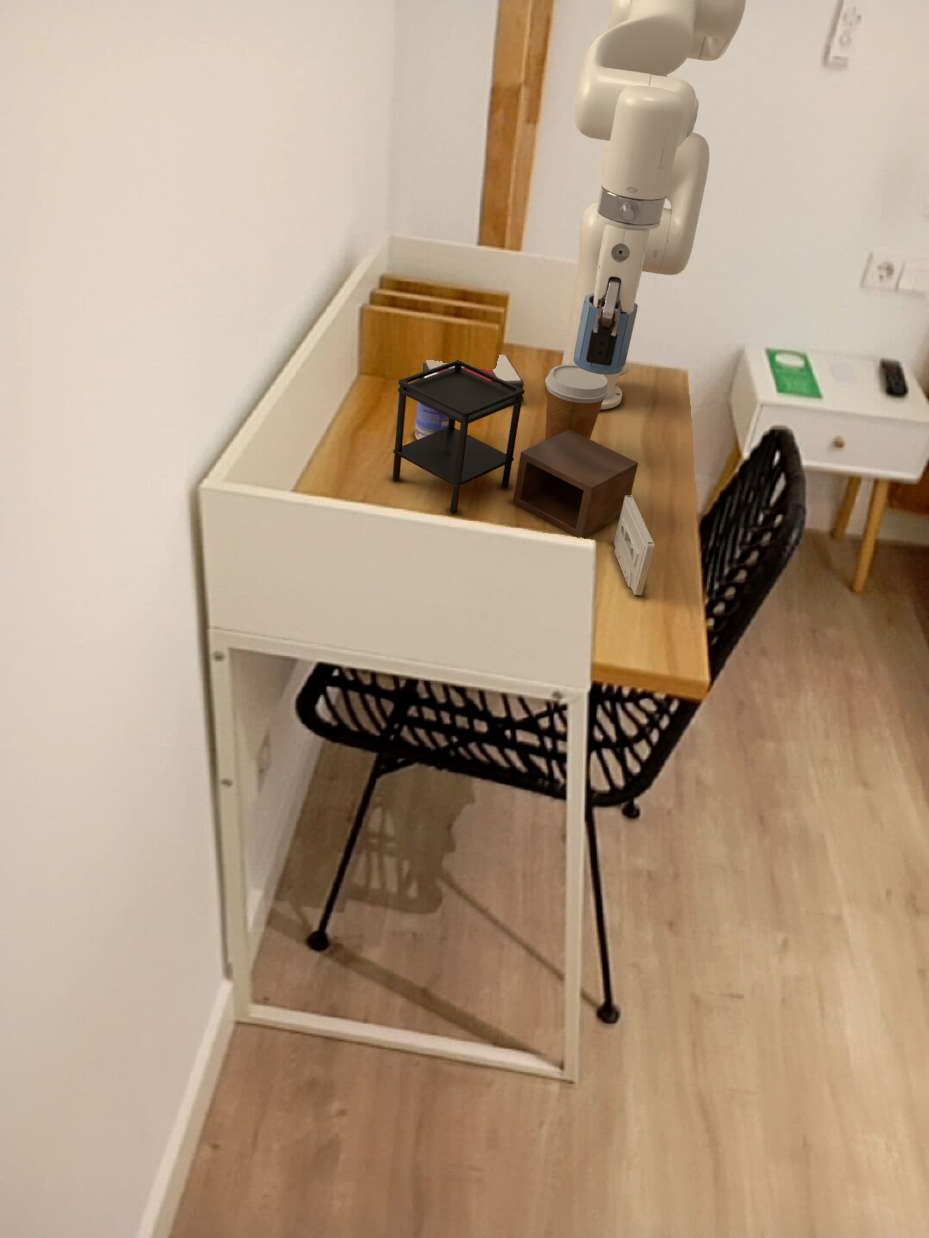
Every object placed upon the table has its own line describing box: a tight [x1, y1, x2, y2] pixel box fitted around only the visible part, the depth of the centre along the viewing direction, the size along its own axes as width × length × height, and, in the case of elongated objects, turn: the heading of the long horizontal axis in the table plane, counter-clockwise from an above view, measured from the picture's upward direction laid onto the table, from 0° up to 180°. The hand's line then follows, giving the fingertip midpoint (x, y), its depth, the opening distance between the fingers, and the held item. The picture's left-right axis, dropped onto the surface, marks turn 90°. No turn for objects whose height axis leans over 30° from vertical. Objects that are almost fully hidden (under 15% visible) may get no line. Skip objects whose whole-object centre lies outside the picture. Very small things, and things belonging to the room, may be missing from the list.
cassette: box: [613, 495, 655, 596], centre depth 129 cm, size 12×2×8 cm, turn 6°
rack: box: [392, 360, 526, 515], centre depth 140 cm, size 12×12×15 cm
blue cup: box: [573, 293, 639, 375], centre depth 127 cm, size 7×7×8 cm
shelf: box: [512, 430, 639, 539], centre depth 140 cm, size 11×12×8 cm
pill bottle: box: [414, 373, 449, 440], centre depth 151 cm, size 5×5×10 cm
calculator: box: [420, 354, 525, 398], centre depth 169 cm, size 11×4×15 cm
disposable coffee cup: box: [544, 364, 609, 441], centre depth 153 cm, size 10×10×12 cm
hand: (601, 350), depth 129 cm, fingers closed on blue cup, 6 cm apart
